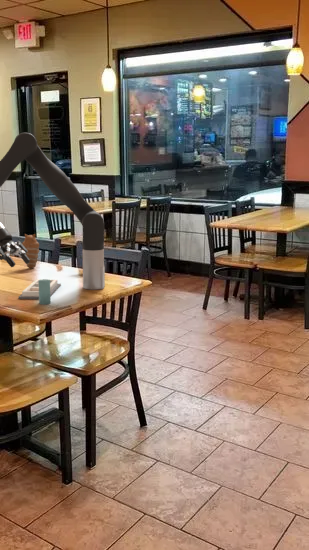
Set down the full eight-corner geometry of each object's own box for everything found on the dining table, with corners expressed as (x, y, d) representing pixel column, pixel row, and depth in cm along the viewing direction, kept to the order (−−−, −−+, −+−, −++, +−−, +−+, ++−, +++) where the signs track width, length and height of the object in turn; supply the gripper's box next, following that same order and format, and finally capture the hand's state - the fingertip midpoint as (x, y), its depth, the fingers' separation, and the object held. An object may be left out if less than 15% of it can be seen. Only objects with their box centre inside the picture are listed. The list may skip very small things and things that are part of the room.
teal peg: (51, 301, 211) (51, 279, 209) (49, 304, 207) (48, 281, 205) (40, 301, 211) (40, 279, 209) (37, 304, 207) (37, 281, 205)
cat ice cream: (21, 269, 272) (20, 234, 268) (24, 267, 279) (22, 232, 276) (39, 269, 273) (38, 234, 269) (41, 267, 280) (40, 232, 276)
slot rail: (60, 285, 239) (60, 279, 238) (48, 299, 214) (47, 292, 214) (34, 284, 239) (34, 278, 238) (18, 298, 214) (18, 292, 214)
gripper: (-11, 229, 206) (13, 261, 203) (14, 225, 218) (38, 255, 215) (-20, 241, 209) (3, 273, 206) (5, 237, 221) (28, 267, 219)
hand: (21, 264), depth 211 cm, fingers open, 8 cm apart
